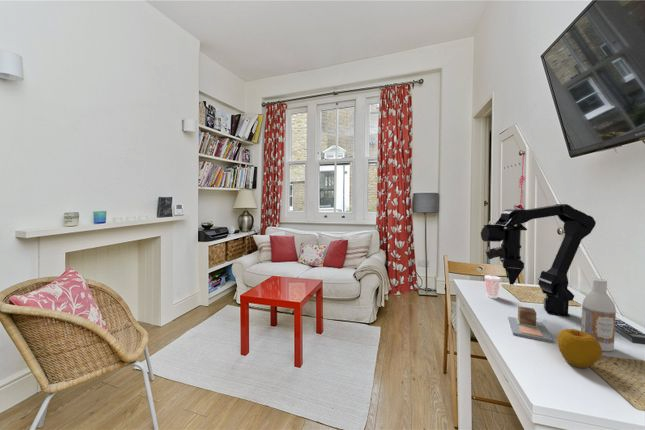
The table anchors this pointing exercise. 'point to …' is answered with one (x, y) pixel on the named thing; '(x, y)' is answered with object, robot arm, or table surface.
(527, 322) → the walnut block
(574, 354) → the apple
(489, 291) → the beverage cup
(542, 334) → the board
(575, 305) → the table surface
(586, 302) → the bath foam
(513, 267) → the robot arm
